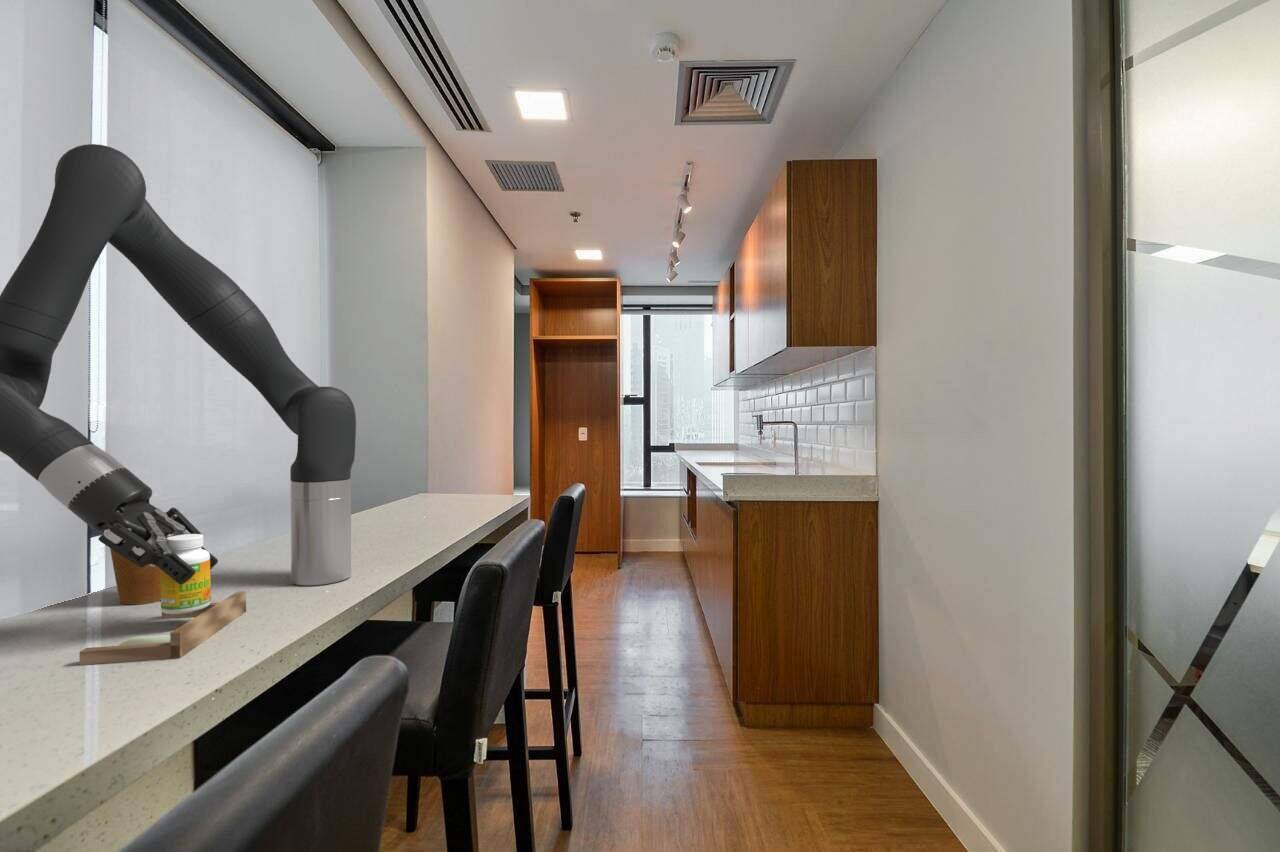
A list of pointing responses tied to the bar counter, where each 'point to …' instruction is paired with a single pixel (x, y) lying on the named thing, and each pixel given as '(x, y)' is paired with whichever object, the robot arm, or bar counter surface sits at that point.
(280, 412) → the robot arm
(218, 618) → the bay
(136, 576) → the disposable coffee cup
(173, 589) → the supplement bottle
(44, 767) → the bar counter surface
